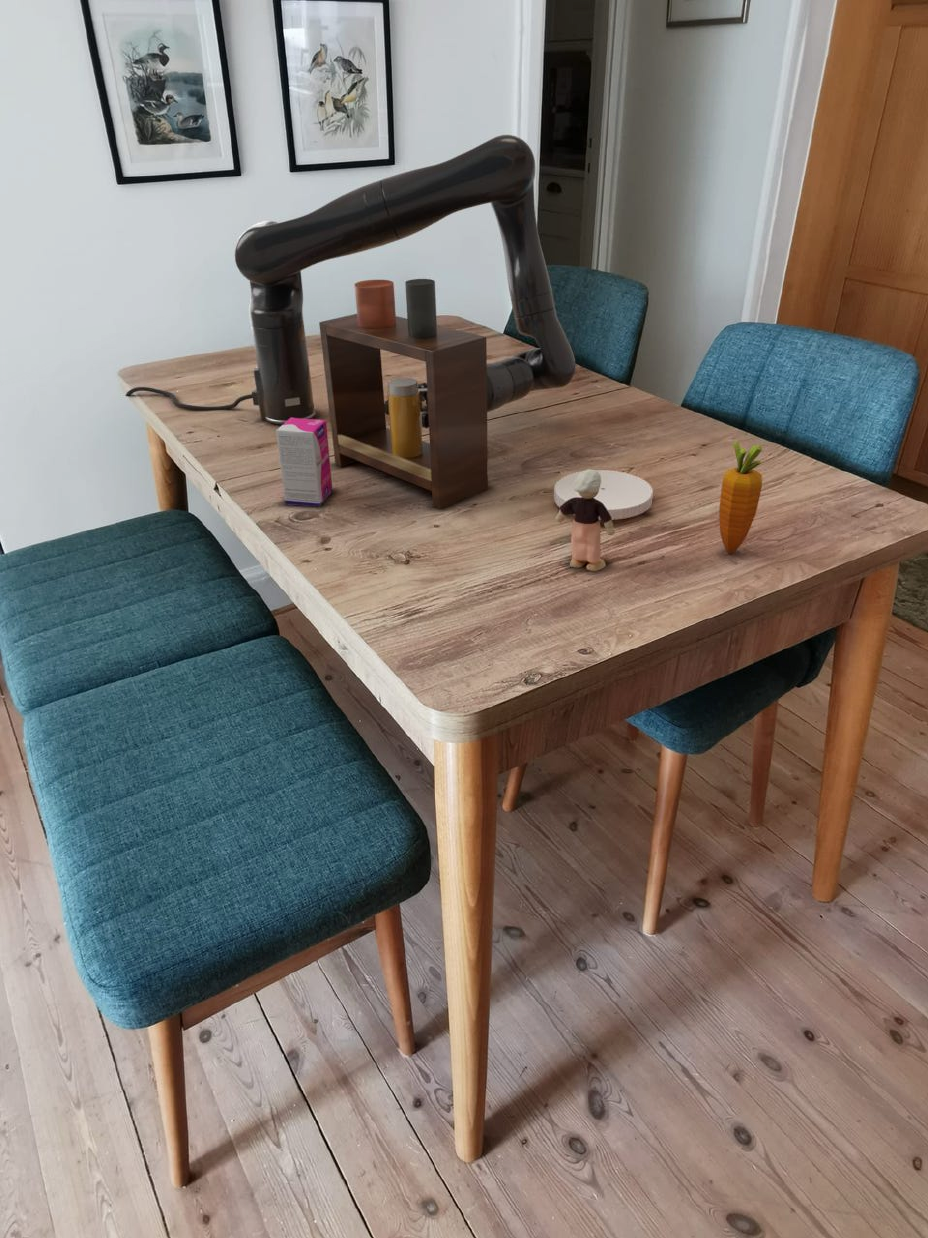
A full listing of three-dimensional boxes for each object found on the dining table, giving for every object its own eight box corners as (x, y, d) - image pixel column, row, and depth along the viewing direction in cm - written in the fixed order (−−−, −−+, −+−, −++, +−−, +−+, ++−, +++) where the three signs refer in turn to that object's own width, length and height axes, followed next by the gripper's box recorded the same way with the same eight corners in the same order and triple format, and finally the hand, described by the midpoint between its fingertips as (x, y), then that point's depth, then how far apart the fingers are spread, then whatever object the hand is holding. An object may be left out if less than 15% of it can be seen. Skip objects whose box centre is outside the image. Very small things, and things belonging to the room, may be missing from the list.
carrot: (705, 545, 109) (721, 436, 101) (741, 543, 110) (761, 434, 102) (717, 563, 105) (736, 451, 97) (756, 561, 105) (777, 448, 97)
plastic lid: (551, 485, 127) (551, 470, 125) (643, 485, 126) (644, 469, 125) (556, 526, 115) (557, 510, 114) (658, 526, 114) (660, 509, 113)
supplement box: (322, 507, 122) (312, 432, 116) (284, 504, 123) (272, 430, 117) (334, 491, 127) (326, 418, 121) (298, 488, 128) (288, 416, 122)
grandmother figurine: (615, 560, 106) (623, 467, 100) (610, 574, 103) (617, 480, 97) (557, 552, 109) (560, 461, 102) (550, 566, 106) (553, 473, 99)
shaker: (385, 452, 129) (379, 382, 123) (408, 444, 132) (404, 375, 126) (405, 460, 126) (401, 388, 120) (429, 451, 129) (425, 381, 123)
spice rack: (335, 464, 136) (313, 271, 120) (382, 448, 142) (367, 261, 126) (440, 509, 121) (430, 295, 105) (488, 488, 126) (486, 282, 110)
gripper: (448, 358, 137) (372, 380, 128) (511, 375, 129) (435, 400, 119) (449, 403, 142) (376, 427, 132) (511, 422, 133) (437, 450, 123)
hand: (404, 414), depth 126 cm, fingers open, 8 cm apart
